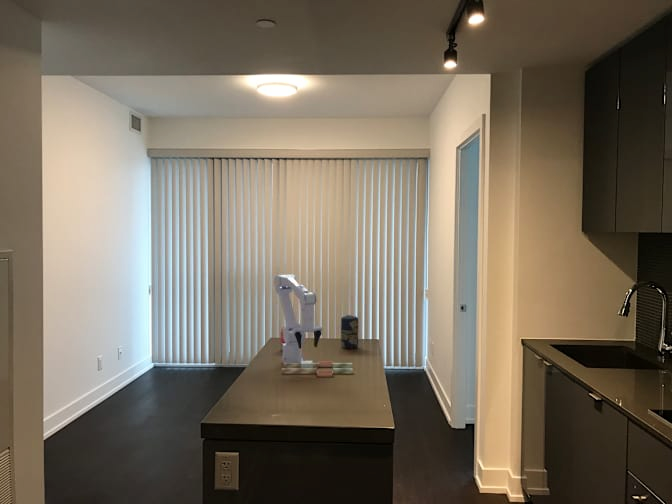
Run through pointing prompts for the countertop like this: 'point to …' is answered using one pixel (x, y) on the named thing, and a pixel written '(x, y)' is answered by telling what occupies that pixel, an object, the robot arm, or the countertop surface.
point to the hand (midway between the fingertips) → (307, 347)
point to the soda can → (282, 338)
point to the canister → (349, 331)
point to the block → (307, 364)
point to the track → (296, 369)
